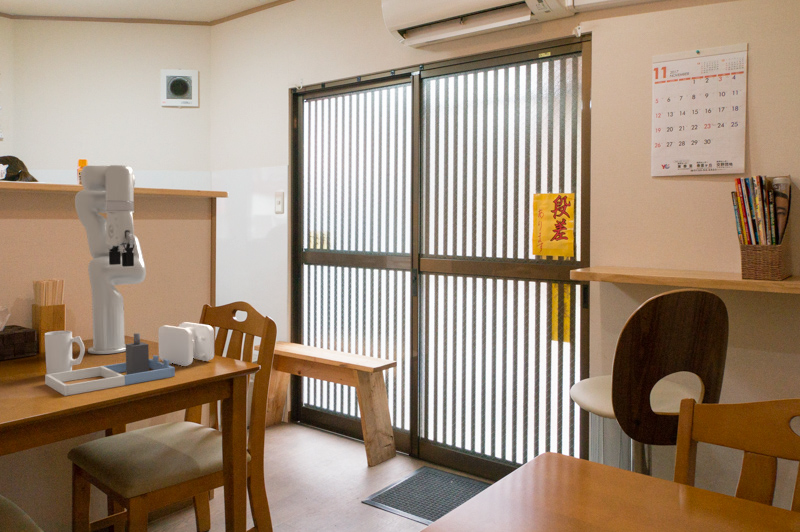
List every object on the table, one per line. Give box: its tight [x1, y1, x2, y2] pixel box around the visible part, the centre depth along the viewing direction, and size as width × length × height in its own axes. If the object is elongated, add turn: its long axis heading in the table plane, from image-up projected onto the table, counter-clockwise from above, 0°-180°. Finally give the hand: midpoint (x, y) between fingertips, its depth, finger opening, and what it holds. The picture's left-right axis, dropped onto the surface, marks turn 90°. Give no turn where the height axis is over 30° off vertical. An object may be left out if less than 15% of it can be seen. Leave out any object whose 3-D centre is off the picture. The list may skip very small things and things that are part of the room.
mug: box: [44, 330, 86, 375], centre depth 173 cm, size 10×7×12 cm, turn 100°
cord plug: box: [125, 332, 150, 375], centre depth 172 cm, size 4×4×12 cm
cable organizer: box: [157, 321, 215, 367], centre depth 190 cm, size 15×11×12 cm
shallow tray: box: [44, 354, 176, 397], centre depth 168 cm, size 16×28×4 cm, turn 136°
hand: (121, 265), depth 183 cm, fingers open, 9 cm apart
